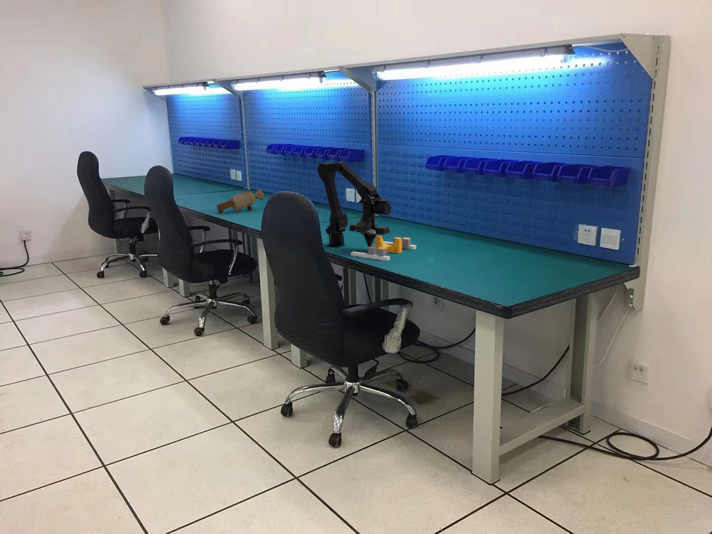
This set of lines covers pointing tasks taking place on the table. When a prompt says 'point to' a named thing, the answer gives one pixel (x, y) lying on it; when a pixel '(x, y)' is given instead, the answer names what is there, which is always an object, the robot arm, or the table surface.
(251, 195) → the brown toy figure
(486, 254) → the table surface
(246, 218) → the table surface
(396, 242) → the pipe clamp
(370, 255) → the collar track
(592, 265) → the table surface
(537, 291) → the table surface
